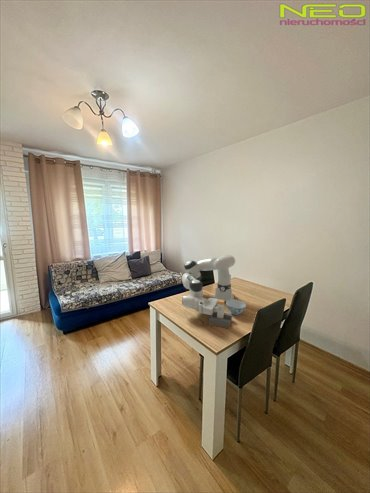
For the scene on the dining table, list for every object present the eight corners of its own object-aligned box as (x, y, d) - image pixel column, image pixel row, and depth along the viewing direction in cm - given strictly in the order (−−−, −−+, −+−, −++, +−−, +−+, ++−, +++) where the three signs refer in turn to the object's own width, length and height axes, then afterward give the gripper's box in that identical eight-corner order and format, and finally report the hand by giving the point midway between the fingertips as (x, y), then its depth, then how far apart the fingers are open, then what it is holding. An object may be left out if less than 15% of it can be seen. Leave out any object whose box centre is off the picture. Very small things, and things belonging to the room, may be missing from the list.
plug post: (218, 315, 143) (218, 299, 142) (223, 316, 142) (224, 300, 140) (216, 317, 140) (217, 301, 138) (222, 318, 138) (223, 302, 137)
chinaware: (236, 319, 145) (237, 309, 144) (221, 311, 157) (222, 302, 156) (249, 314, 154) (250, 304, 152) (234, 307, 166) (234, 298, 164)
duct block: (212, 316, 150) (213, 310, 149) (231, 320, 145) (232, 314, 144) (208, 324, 139) (208, 318, 138) (228, 328, 133) (229, 322, 133)
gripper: (206, 302, 155) (224, 305, 150) (198, 314, 136) (218, 318, 131) (207, 294, 154) (225, 297, 149) (198, 305, 135) (219, 309, 130)
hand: (222, 307), depth 140 cm, fingers closed on plug post, 4 cm apart
